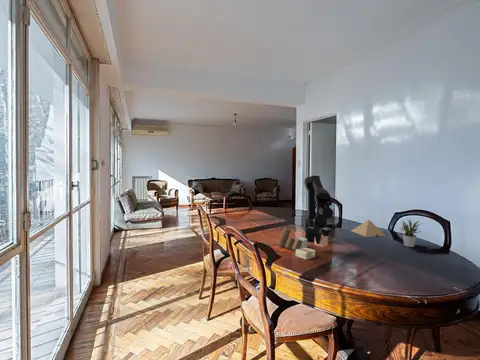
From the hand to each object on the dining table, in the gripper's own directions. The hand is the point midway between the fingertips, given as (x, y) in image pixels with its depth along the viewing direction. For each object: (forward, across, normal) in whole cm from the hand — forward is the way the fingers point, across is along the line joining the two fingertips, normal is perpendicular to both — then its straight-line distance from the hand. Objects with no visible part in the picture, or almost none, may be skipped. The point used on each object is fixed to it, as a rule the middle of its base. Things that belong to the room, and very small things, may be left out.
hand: (320, 243), depth 156 cm
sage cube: (+5, +2, -12) cm, 13 cm away
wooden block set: (+5, +8, -17) cm, 19 cm away
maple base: (+5, +13, 0) cm, 14 cm away
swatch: (+5, +4, -6) cm, 9 cm away
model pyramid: (+6, -62, -6) cm, 63 cm away
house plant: (+5, -54, +25) cm, 60 cm away
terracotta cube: (+1, 0, 0) cm, 1 cm away
